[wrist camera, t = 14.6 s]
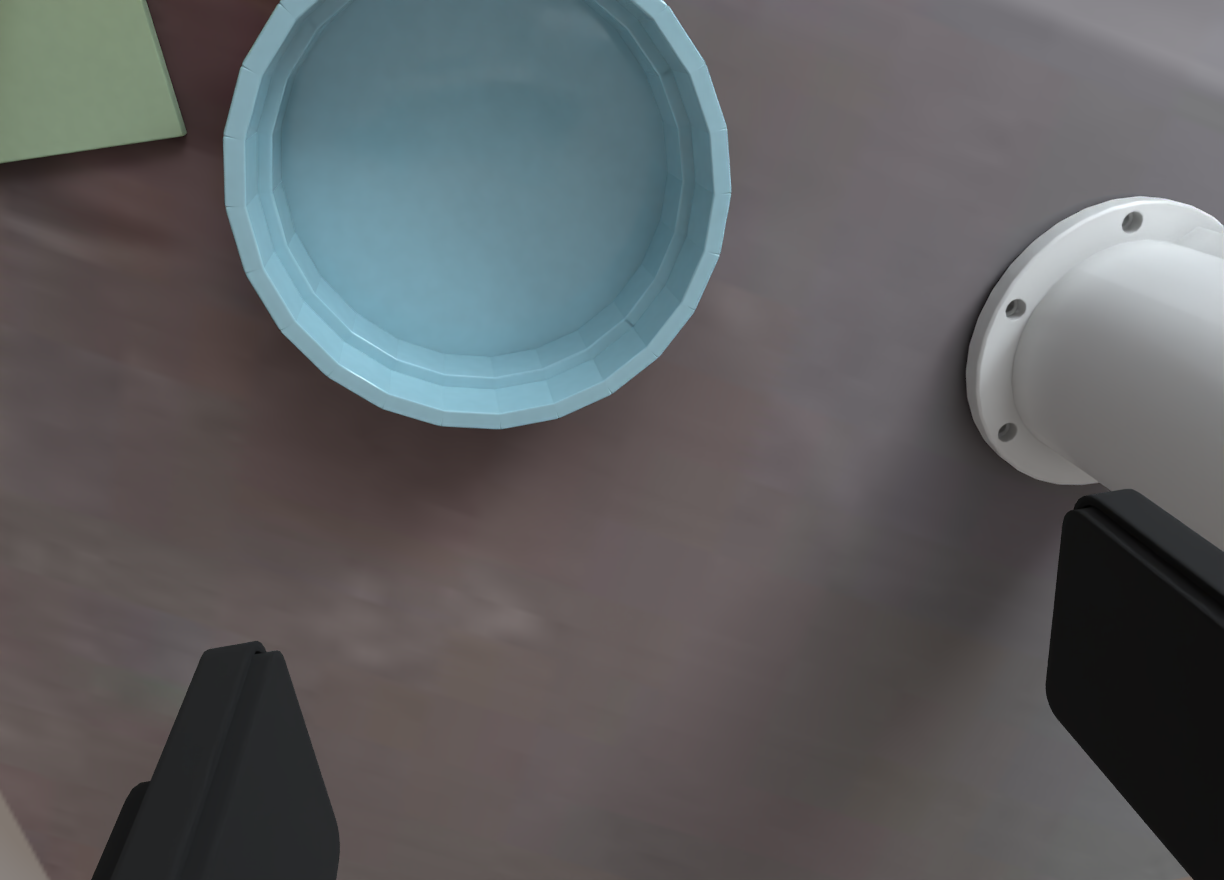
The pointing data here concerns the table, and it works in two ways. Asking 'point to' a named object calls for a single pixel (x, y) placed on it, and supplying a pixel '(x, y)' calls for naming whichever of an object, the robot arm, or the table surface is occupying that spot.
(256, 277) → the bowl
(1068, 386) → the robot arm
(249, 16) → the table surface
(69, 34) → the mat
